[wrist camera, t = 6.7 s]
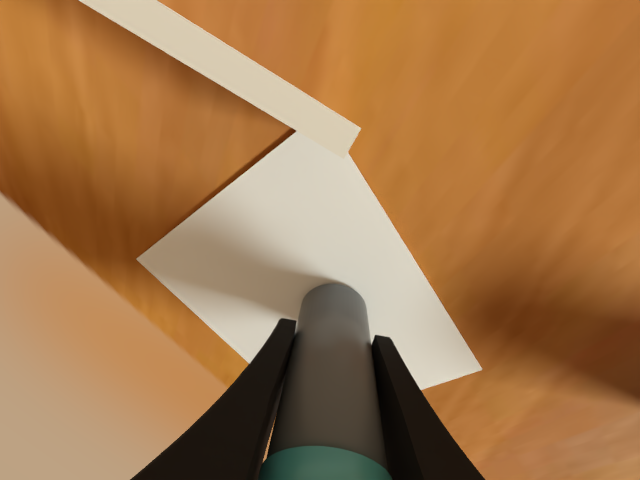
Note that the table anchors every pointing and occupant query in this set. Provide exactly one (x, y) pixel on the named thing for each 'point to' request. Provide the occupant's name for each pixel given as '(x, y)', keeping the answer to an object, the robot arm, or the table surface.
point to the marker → (329, 396)
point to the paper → (305, 260)
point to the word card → (231, 70)
